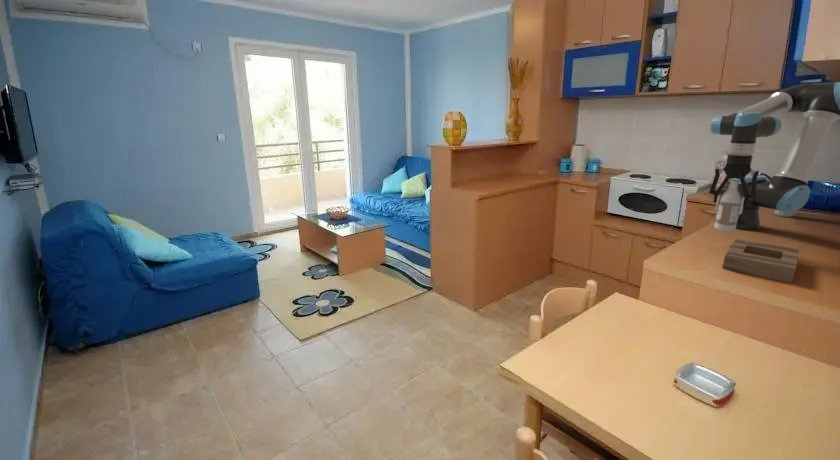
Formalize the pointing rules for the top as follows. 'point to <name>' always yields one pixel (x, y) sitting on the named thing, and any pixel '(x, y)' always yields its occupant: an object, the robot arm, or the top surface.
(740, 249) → the walnut holder
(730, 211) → the bath foam
